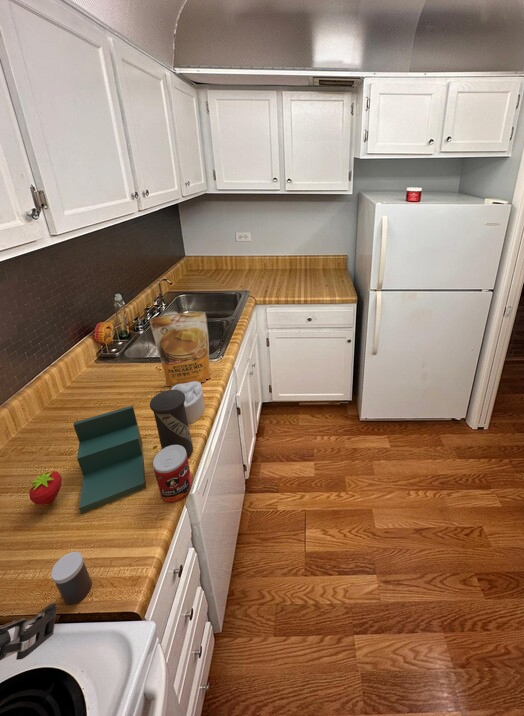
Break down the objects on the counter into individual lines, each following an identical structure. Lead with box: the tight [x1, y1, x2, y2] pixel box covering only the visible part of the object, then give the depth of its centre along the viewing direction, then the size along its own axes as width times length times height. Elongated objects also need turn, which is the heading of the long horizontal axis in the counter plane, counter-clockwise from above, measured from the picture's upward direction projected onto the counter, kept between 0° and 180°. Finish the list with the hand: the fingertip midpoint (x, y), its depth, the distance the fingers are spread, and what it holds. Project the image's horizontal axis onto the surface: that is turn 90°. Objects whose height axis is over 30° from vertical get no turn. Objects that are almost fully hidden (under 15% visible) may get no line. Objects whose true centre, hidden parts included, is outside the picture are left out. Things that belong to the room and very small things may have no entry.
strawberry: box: [28, 470, 63, 506], centre depth 80 cm, size 6×8×10 cm
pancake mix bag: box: [148, 310, 212, 388], centre depth 122 cm, size 7×19×28 cm, turn 107°
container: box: [149, 389, 194, 459], centre depth 92 cm, size 9×9×20 cm
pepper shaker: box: [50, 551, 93, 606], centre depth 64 cm, size 5×5×8 cm
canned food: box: [152, 445, 193, 503], centre depth 83 cm, size 8×8×11 cm
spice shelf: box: [73, 404, 147, 514], centre depth 87 cm, size 14×17×14 cm
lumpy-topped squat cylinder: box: [170, 381, 206, 426], centre depth 110 cm, size 10×13×9 cm
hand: (21, 618), depth 50 cm, fingers open, 8 cm apart
